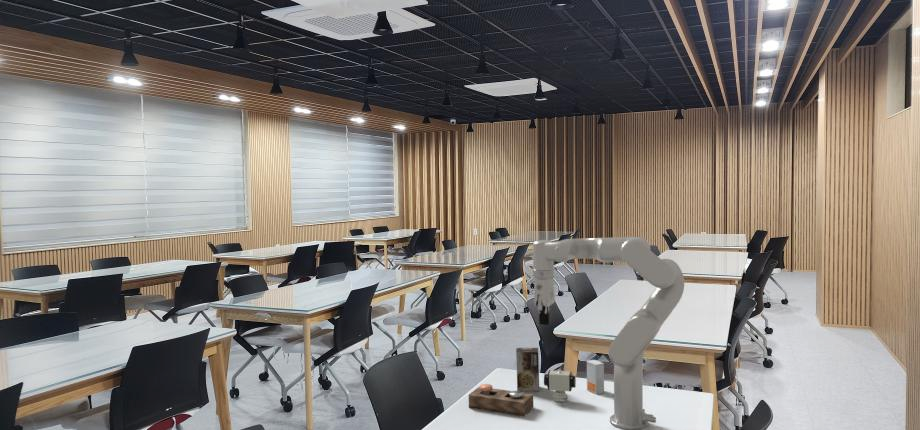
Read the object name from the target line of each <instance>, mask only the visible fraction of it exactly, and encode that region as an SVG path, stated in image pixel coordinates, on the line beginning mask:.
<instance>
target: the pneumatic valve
mask: <svg viewBox="0 0 920 430" xmlns="http://www.w3.org/2000/svg"><path fill="white" fill-rule="evenodd" d="M543 384H544V386H546V388H547V390H548V391H554V392H552V399H553V400H554V402H556V403H565V402H566V401H567V400H568V393H566V392H572V389H573V388H575V389H576V385H577V379H576V375H574V374H573V371H566V370H561V369H558V370H550V369H549V370H548V372H547V373H544V376H543Z"/></svg>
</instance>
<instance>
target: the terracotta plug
mask: <svg viewBox="0 0 920 430" xmlns="http://www.w3.org/2000/svg"><path fill="white" fill-rule="evenodd" d="M479 387H480V390H481V391H483V394H487V395H490V391H491V390H492V388H493V385H492V384H490V383H489V384H488V383H484V384H483V383H481V384H480V385H479Z"/></svg>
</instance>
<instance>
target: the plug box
mask: <svg viewBox="0 0 920 430" xmlns="http://www.w3.org/2000/svg"><path fill="white" fill-rule="evenodd" d="M511 391H512V390H506V389H499V388H493V387H492V390H491V391H490V395H487V394H483V391H481V390H480V386H478V387H477V388H475V389H474V390H473V391H471V393H469V394H468V408H469V409H475V410H480V411H484V412H485V411H487V412H492V413H499V414H505V415H511V416H517V417H523V418H525V417H526V415H527V414H528V413H529V412H531V411H532V410H533V408H534V394H533V393H527V392H522V397H521V398H519V399H515V398H511V397H510V396H509V392H511Z"/></svg>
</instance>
